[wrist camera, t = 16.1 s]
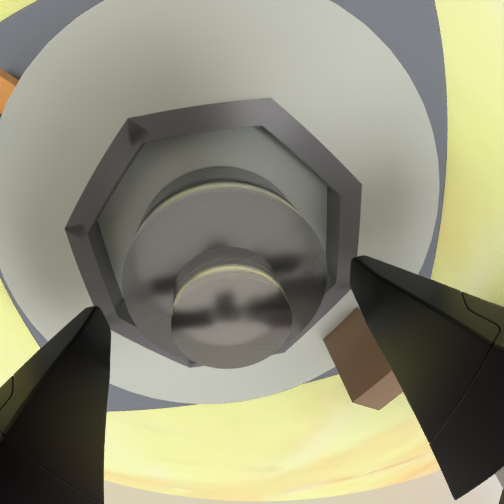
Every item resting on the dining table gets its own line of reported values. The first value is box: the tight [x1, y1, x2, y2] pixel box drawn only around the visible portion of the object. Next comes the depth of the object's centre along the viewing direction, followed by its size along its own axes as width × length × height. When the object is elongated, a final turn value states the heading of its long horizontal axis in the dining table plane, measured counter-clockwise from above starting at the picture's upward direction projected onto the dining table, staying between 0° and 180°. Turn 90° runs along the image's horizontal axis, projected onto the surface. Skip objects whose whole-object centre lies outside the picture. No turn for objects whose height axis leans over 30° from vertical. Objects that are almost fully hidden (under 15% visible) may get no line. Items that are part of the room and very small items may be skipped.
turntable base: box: [0, 0, 447, 411], centre depth 11 cm, size 24×24×5 cm
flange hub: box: [122, 166, 328, 369], centre depth 9 cm, size 6×6×4 cm
